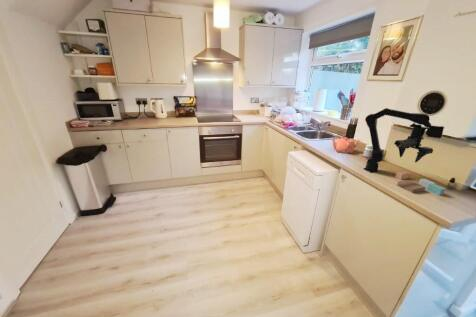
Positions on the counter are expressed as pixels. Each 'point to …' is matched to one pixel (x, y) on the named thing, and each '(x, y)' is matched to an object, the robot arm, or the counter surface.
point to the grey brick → (425, 182)
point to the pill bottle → (368, 151)
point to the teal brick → (436, 189)
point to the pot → (344, 145)
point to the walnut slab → (411, 186)
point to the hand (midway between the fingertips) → (407, 159)
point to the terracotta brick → (402, 175)
